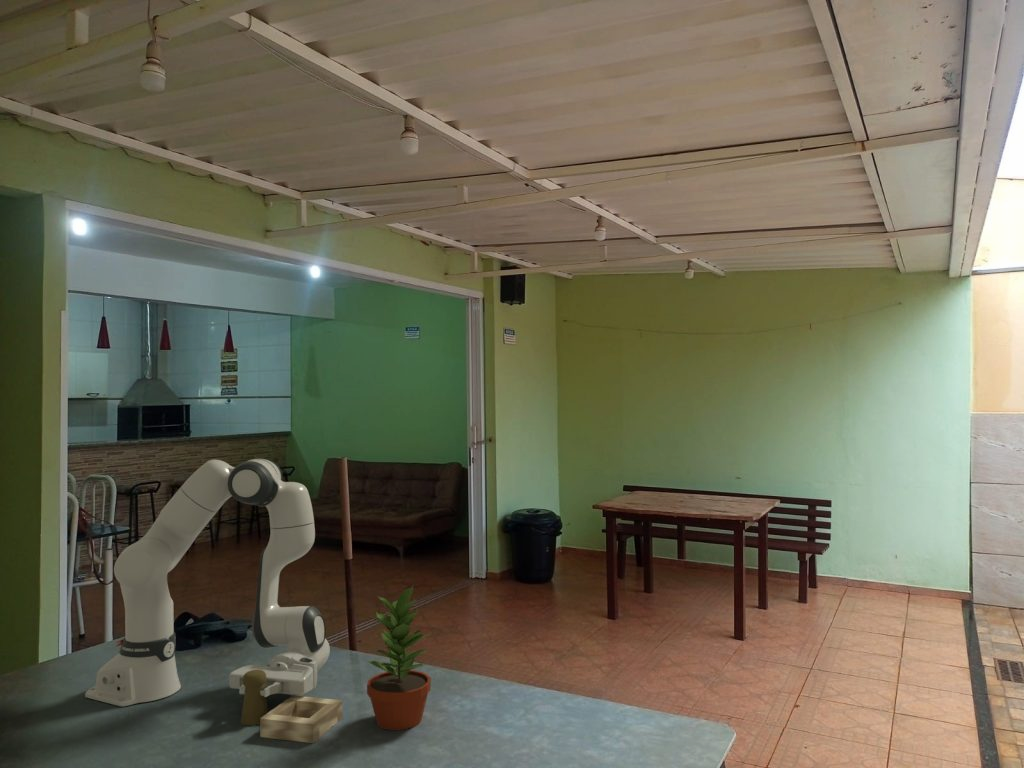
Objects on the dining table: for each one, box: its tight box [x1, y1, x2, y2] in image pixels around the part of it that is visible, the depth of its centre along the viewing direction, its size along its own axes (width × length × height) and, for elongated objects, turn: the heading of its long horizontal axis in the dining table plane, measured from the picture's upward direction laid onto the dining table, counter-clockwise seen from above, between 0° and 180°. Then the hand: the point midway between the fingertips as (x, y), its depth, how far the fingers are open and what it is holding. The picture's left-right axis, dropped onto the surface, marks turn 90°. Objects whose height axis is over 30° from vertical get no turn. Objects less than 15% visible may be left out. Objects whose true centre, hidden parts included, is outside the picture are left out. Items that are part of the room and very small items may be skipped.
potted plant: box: [366, 585, 432, 731], centre depth 169 cm, size 15×15×30 cm
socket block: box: [259, 695, 344, 744], centre depth 166 cm, size 13×13×4 cm
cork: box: [240, 670, 269, 726], centre depth 170 cm, size 6×6×11 cm
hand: (252, 692), depth 169 cm, fingers closed on cork, 4 cm apart
